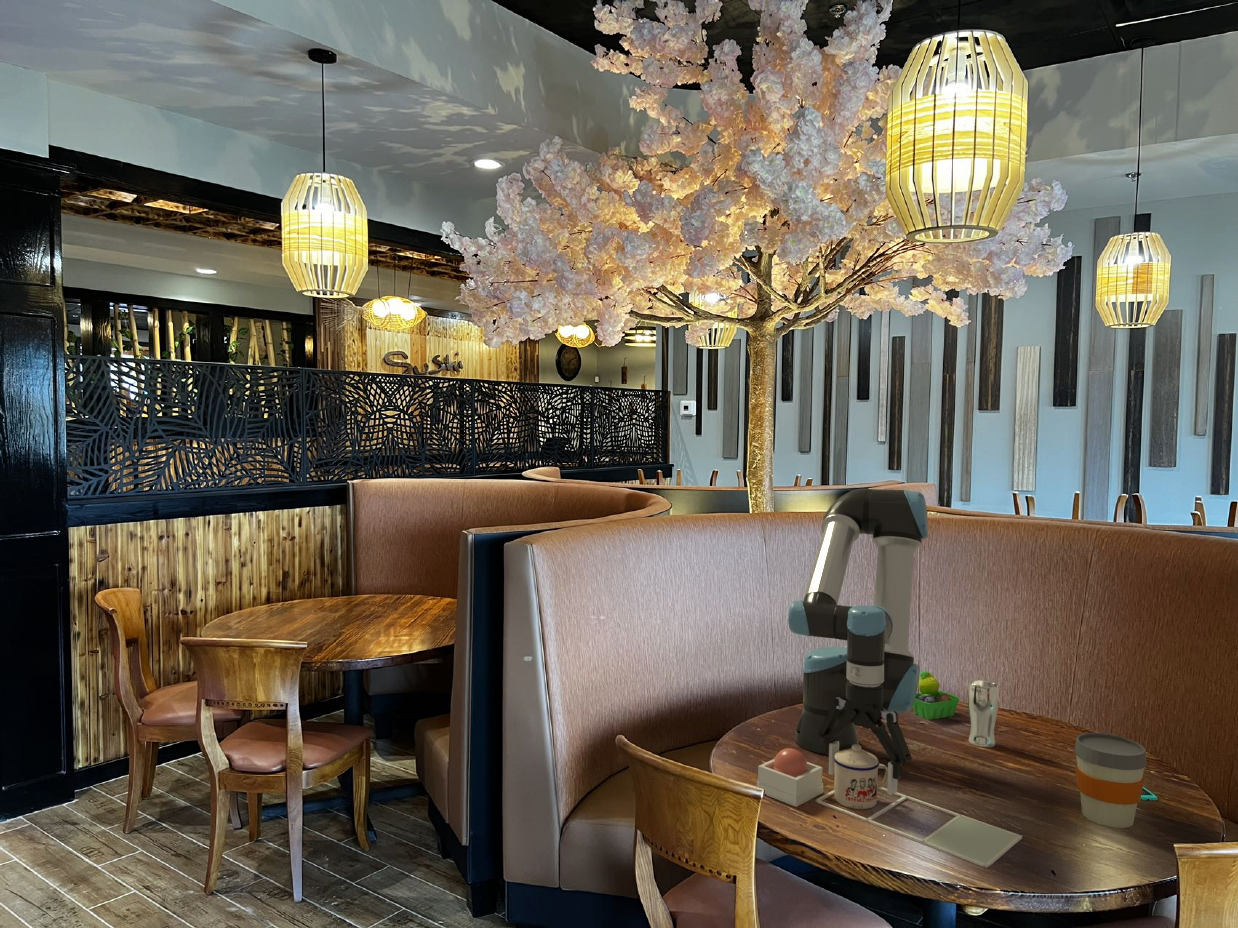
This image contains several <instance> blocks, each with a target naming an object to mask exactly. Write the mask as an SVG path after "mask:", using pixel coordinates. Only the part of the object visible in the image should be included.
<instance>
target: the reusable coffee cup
mask: <svg viewBox="0 0 1238 928" xmlns="http://www.w3.org/2000/svg"><path fill="white" fill-rule="evenodd" d="M1075 739H1076V740H1075V744H1074V750H1073V751H1074V754H1075V756H1076V763H1075V765H1074V769H1075V778H1076V785H1077V786H1076V787H1077V790H1078V791H1079V793H1080V805H1081V813H1082V815H1083V816H1084V817H1085V818H1086V819H1088V820H1089V821H1091V822H1094V823H1096V822H1097V823H1096V824H1098V825H1103V826H1105V827H1109V828H1110V827H1111V828H1119V829H1120V828H1121V829H1122V828H1123V829H1124V828H1129V827H1131V826H1133V825H1134V822H1135V817H1136V812H1137V806H1138V803H1140V802H1141V801H1142V800H1141V795H1142V789H1143V787H1144V784H1145V776H1144V775H1143V774H1144V770H1145V768H1146V767H1147V763H1148V762H1147V753H1146V748H1145V746H1143V745H1142V744H1140V743H1139V742H1137V741H1135V740H1132V739H1129V738H1126V737H1124V736H1123V737H1122V736H1119V735H1114V734H1108V733H1101V732H1087V733H1081V734H1078V735H1077V736H1076V738H1075Z"/></svg>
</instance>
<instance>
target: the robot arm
mask: <svg viewBox="0 0 1238 928" xmlns="http://www.w3.org/2000/svg"><path fill="white" fill-rule="evenodd" d="M927 508H928V507H927V503H926V498H925V496H924V494H923V493H922V492H921V491H916V490H914V491H913V490H906V489H880V488H879V489H878V488H877V489H876V488H857V489H853V490H850V491H849V492H847V493H845V494H842V495H841V496H840V497H839V498H838V499H836V500H835V501H834V502H833V503H832V504H831V505H830V506H829V508H828V509H827V510H826V512H825V514H824V516H823V519H822V521H821V525H820V529H821V533H822V535H821V536H822V537H821V539H820V542H819V547H818V549H817V553H816V556H815V559H814V563H813V567H812V571H811V573H810V576H809V579H808V582H807V583H808V584H807V587H806V590H805V593H804V595H803V596H804V598H803V600H793V601H792V602H791V604H790V606H789V609H788V615H787V616H788V618H787V619H788V620H787V624H788V628H789V630H790V632H791V633H792V634H795V635H800V636H806V637H817V638H822V639H823V638H825V639H835V640H838V641H839V640H840V641H846V642H847V643H846V644H847V645H846V647H843V646H829V647H828V646H826V647H820V648H816V649H812V650H810V651H809V652H807V653H806V654H805V656H804V663H803V664H804V665H803V670H802V672H803V687H802V688H803V695H802V696H803V697H802V699H803V700H802V703H803V704H802V706H803V707H802V712H801V715H800V718H799V721H798V723H797V725H796V728H795V734H794V741H795V743H796V744H797V745H798V746H799V747H801V748H803V749H805V750H808V751H811V752H813V753H818V754H825V755H826V757H828V775H831V776H832V775H835V761H834V756H835V754H836V753H837V752H839V751H841V750H847V749H850V748H852V745H854V744H857V745H859V734H858V732H857V728H856V726H857V727H861V728H863V729H866V730H870V731H871V732H872V733H873V734H874V735H875V736H876V738H877V740H878V742H879V743H880V744H881V746H882V748H883V749H884V751H885V753H886V754H887V756H888V758H889V759H890V761H889V762H888V763H887V768H888V782H887V785H886V786H887V787H886V789H887V792H886V795H888V796H893V795H894V793H896V792H898V781H899V780H900V779H901V778H902V776H903V775H902V773H903V770H902V768H903V764H906V763H908V762H910V761H912V759H913V758H912V754H911V753H910V752H911V751H910V749H909V746H908V744H907V742H906V739H905V737H904V734H903V732H902V729H901V726H900V724H899V716H898V713H900V714H905V713H909V712H910V711H911V710H912V708H913V704H914V700H915V697H916V694H918V693H917V691H918V689H919V681H920V674H921V668H920V665H918V664H917V663H914V662H915V661H914V660H915V656H914V655H913V654H912V652H911V651H910V650H909V637H910V636H909V635H910V634H909V633H910V623H911V621H910V619H911V605H912V603H911V602H912V591H913V572H914V560H915V558H914V557H915V552H916V550H918V549H919V548H920V547H921V546H922V539H923V540H924V539H928V538H929V519H928V510H927ZM863 534H864V535H871V536H872V543H873V544H874V545H875V546H876V547H877V557H876V560H877V561H876V571H875V585H874V595H873V605H856V606H850V605H841V604H838V603H839V600H840V595H841V592H842V588H843V583H844V580H845V575H846V572H847V568H848V565H849V560H850V556H851V553H852V547H853V544H854V543H855V542H856V541H857V540H858V538H860V536H861V535H863ZM882 719H884V722H883V721H882ZM885 723H886V725H885ZM886 727H887V729H888V731H887V729H886Z"/></svg>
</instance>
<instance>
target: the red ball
mask: <svg viewBox="0 0 1238 928" xmlns="http://www.w3.org/2000/svg"><path fill="white" fill-rule="evenodd" d="M773 759H774V770H776V771H779V772H781V773H784V774H787V775H789V776H792V777H795V778H796V777H798V776H800V775H802V774H804V773H806V772H807V762H808V761H807V759H806V758H805V756H804V754H803V753H801V752H800V751H799V750H797V749H795V748H791V747H788V748H783V749H781V750H780V751H778V753H776V756H775V757H774V758H773Z"/></svg>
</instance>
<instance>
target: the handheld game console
mask: <svg viewBox="0 0 1238 928" xmlns="http://www.w3.org/2000/svg"><path fill="white" fill-rule="evenodd" d="M1141 799H1142V800H1141V801H1147V800H1148V799H1149V800H1148V801H1158V796H1156V795H1155V794H1154V793H1152V792H1151V791H1150V790H1148V789H1147V788H1145V787H1144V786H1143V789H1142V795H1141Z"/></svg>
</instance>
